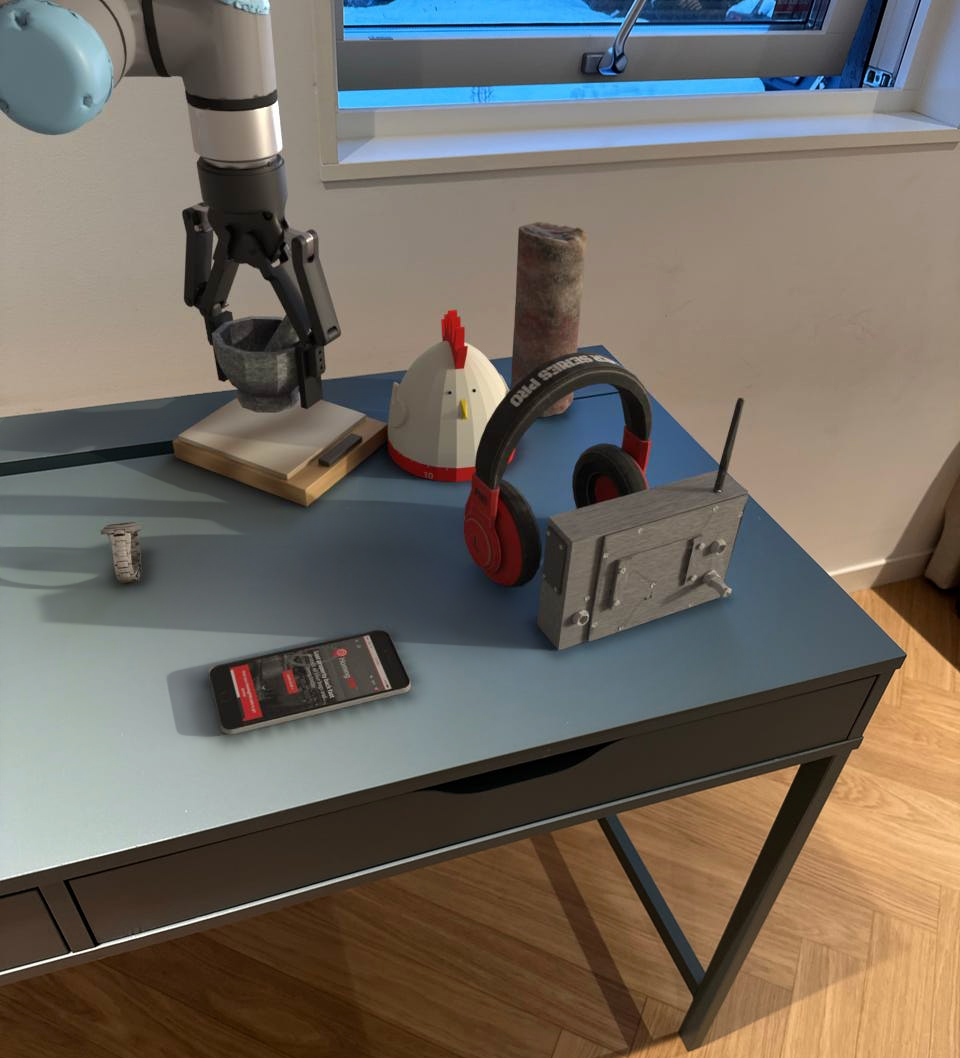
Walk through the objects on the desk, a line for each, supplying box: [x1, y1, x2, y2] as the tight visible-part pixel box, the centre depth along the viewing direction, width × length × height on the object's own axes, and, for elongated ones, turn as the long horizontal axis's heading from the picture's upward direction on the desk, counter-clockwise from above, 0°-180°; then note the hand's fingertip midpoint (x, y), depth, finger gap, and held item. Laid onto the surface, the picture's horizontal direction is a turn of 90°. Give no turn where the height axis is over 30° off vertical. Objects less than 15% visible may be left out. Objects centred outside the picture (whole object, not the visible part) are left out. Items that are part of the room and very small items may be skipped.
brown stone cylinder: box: [510, 221, 588, 418], centre depth 103 cm, size 8×7×20 cm
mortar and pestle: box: [212, 313, 311, 413], centre depth 93 cm, size 11×9×12 cm
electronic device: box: [536, 397, 749, 651], centre depth 76 cm, size 17×7×20 cm, turn 117°
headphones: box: [462, 351, 653, 589], centre depth 82 cm, size 18×10×20 cm, turn 122°
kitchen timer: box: [387, 309, 516, 483], centre depth 97 cm, size 14×14×15 cm
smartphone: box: [208, 629, 412, 735], centre depth 75 cm, size 7×1×15 cm
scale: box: [172, 391, 388, 507], centre depth 100 cm, size 17×15×3 cm
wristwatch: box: [100, 521, 143, 584], centre depth 83 cm, size 4×6×5 cm, turn 12°
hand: (270, 389), depth 96 cm, fingers closed on mortar and pestle, 10 cm apart
